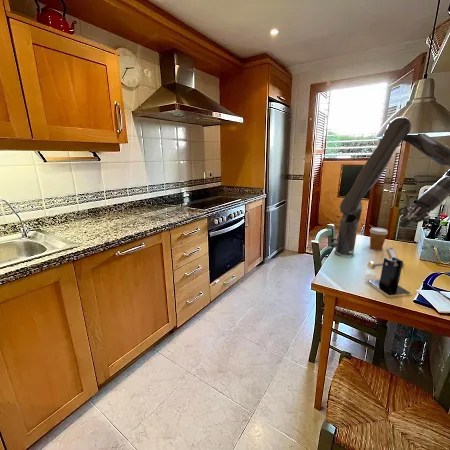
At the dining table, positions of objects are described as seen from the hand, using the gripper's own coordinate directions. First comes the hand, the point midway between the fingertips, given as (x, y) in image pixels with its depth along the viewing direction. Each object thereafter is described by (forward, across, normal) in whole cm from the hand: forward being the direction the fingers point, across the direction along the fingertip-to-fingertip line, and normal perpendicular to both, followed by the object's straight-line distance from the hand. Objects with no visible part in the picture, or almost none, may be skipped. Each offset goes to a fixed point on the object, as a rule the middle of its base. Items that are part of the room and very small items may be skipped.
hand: (401, 226), depth 111 cm
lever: (+20, +9, +2) cm, 22 cm away
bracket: (+25, +14, +7) cm, 29 cm away
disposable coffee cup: (+10, -32, +29) cm, 44 cm away
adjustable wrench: (+9, -17, +29) cm, 34 cm away
